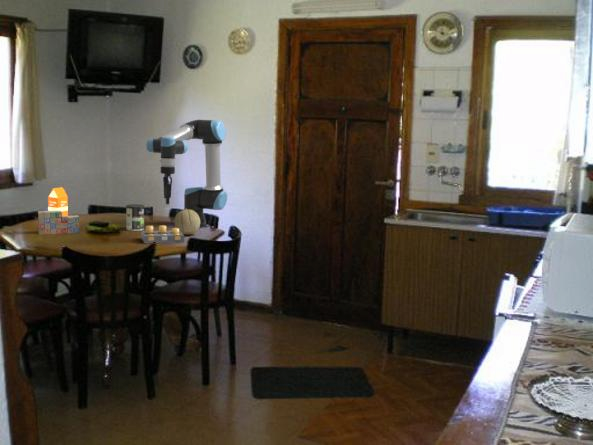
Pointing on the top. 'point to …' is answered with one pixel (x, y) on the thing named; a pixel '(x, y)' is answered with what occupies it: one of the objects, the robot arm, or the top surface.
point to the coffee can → (135, 217)
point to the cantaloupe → (187, 221)
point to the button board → (162, 237)
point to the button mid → (162, 229)
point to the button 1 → (149, 229)
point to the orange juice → (58, 201)
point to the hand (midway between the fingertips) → (167, 209)
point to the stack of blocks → (57, 223)
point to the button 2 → (175, 230)
